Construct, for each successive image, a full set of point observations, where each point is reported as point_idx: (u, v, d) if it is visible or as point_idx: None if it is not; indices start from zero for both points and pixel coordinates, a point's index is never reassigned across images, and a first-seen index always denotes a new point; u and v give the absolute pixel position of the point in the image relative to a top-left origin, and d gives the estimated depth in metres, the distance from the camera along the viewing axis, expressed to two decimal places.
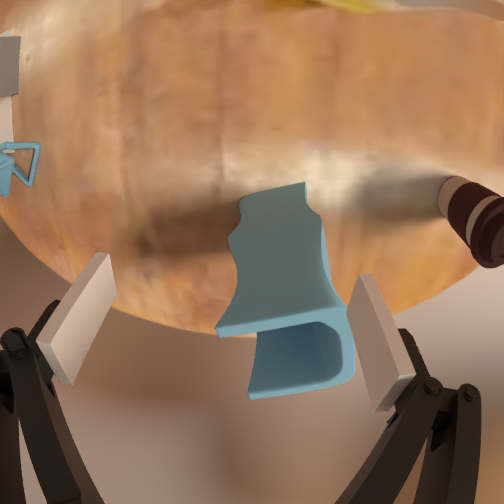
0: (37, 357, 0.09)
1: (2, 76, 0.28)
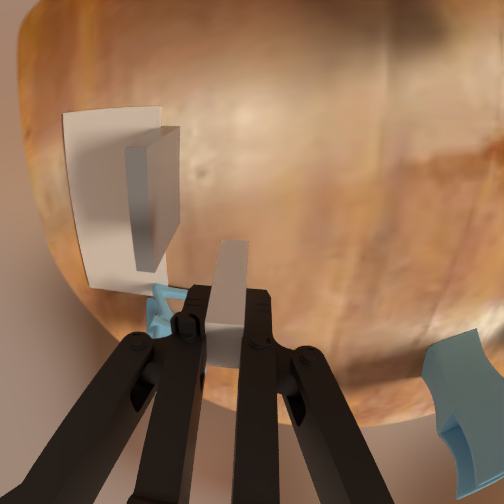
0: (204, 348, 0.11)
1: (168, 209, 0.26)
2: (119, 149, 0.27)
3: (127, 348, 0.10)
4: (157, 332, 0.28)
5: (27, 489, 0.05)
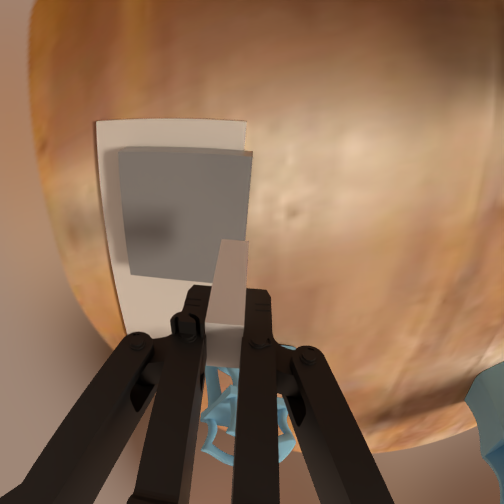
0: (204, 348, 0.11)
1: (187, 244, 0.22)
2: None
3: (127, 349, 0.10)
4: (236, 405, 0.23)
5: (27, 489, 0.05)
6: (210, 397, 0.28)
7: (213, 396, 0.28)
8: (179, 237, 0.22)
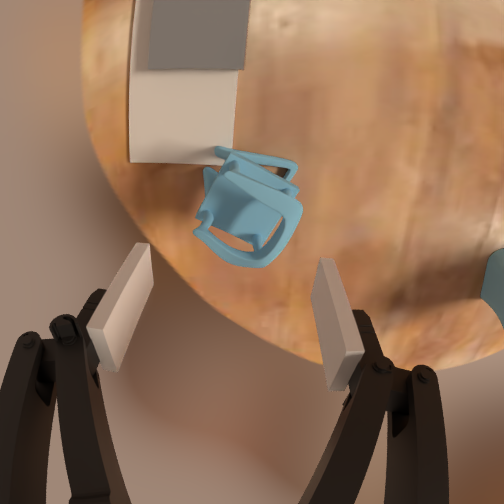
0: (86, 347, 0.10)
1: (200, 35, 0.22)
2: None
3: (21, 349, 0.09)
4: (236, 166, 0.23)
5: None
6: None
7: None
8: (194, 30, 0.22)
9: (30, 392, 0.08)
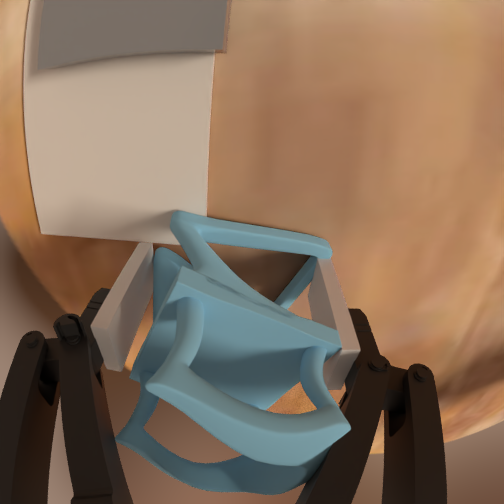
0: (91, 346, 0.10)
1: None
2: None
3: (25, 348, 0.09)
4: (191, 320, 0.09)
5: None
6: None
7: None
8: None
9: (33, 392, 0.08)
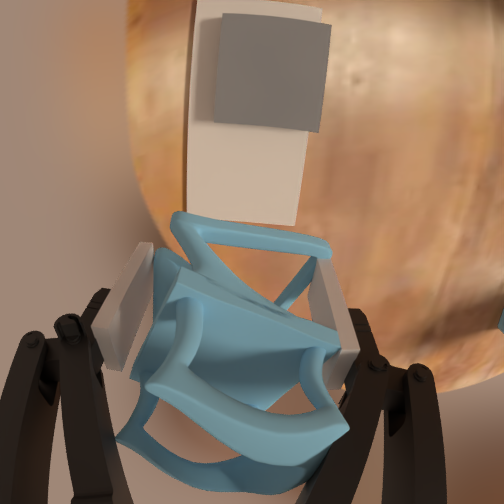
0: (91, 346, 0.10)
1: (275, 89, 0.23)
2: None
3: (25, 348, 0.09)
4: (191, 320, 0.09)
5: None
6: None
7: None
8: (268, 83, 0.23)
9: (33, 392, 0.08)
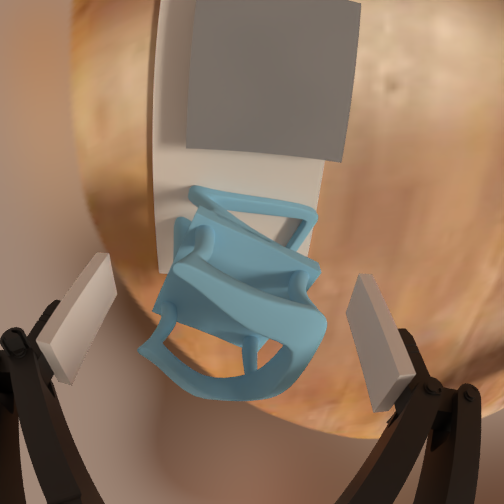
0: (37, 357, 0.09)
1: (277, 97, 0.15)
2: None
3: None
4: (206, 238, 0.13)
5: None
6: None
7: None
8: (267, 87, 0.15)
9: None
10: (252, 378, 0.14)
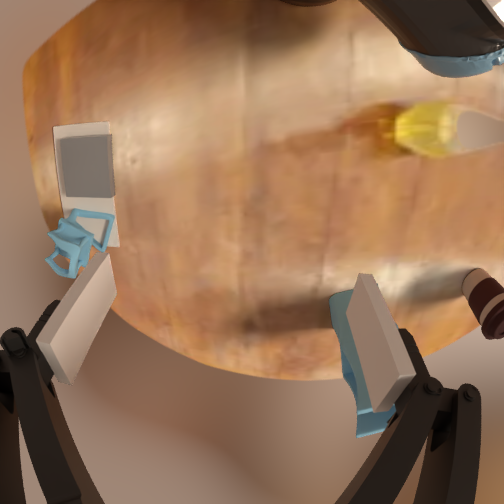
0: (37, 357, 0.09)
1: (87, 178, 0.43)
2: None
3: None
4: (60, 227, 0.40)
5: None
6: None
7: None
8: (84, 175, 0.42)
9: None
10: None
